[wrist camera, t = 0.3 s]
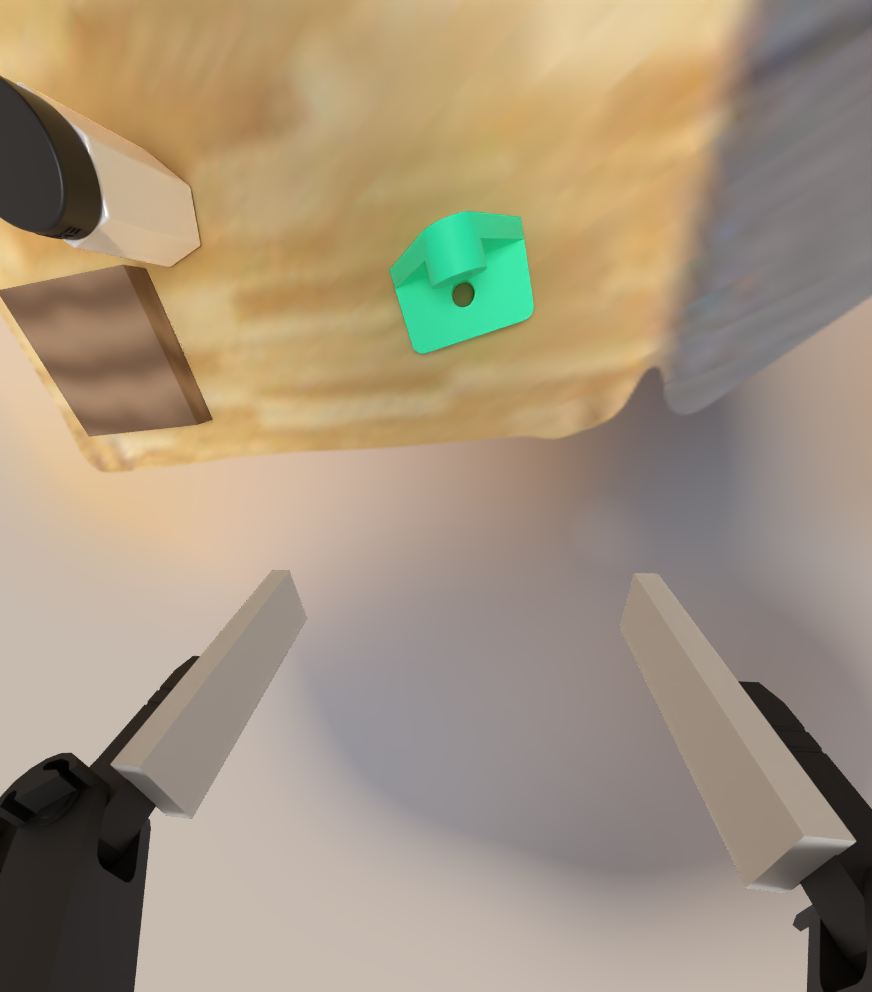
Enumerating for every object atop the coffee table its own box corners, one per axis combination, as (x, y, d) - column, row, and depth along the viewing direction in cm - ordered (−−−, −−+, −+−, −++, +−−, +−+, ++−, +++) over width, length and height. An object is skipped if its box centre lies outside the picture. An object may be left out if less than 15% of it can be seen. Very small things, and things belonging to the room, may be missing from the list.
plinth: (26, 293, 36) (-4, 290, 34) (146, 269, 34) (123, 264, 32) (108, 431, 43) (88, 436, 41) (212, 419, 41) (197, 424, 39)
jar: (107, 222, 32) (-71, 170, 22) (121, 128, 29) (-82, 12, 18) (190, 284, 34) (64, 264, 23) (213, 203, 31) (77, 137, 20)
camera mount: (419, 354, 35) (400, 363, 26) (395, 274, 32) (363, 252, 23) (531, 317, 32) (553, 312, 23) (517, 225, 29) (536, 178, 20)
